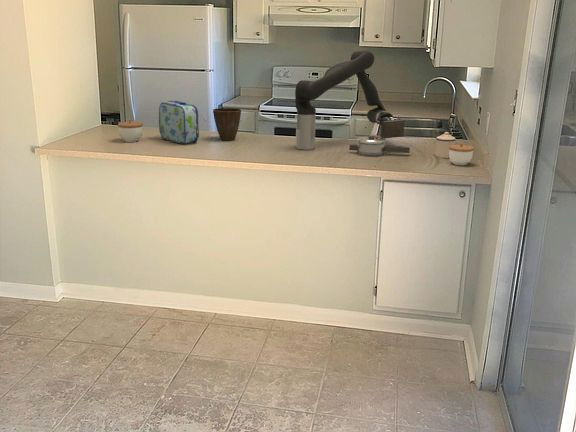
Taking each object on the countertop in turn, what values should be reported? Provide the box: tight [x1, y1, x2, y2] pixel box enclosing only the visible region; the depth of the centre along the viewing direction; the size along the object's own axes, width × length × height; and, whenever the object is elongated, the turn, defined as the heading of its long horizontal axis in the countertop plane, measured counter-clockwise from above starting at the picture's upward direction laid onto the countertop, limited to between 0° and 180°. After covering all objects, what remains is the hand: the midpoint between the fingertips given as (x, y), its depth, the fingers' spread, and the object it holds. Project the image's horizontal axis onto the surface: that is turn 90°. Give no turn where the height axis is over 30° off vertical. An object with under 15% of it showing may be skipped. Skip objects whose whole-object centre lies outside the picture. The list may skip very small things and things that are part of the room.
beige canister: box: [434, 131, 457, 159], centre depth 283 cm, size 12×9×12 cm
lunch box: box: [158, 100, 200, 145], centre depth 307 cm, size 26×11×21 cm, turn 42°
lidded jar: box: [448, 142, 474, 166], centre depth 267 cm, size 11×11×9 cm
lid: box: [356, 119, 405, 144], centre depth 287 cm, size 26×14×9 cm, turn 121°
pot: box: [348, 141, 411, 157], centre depth 286 cm, size 28×13×6 cm, turn 96°
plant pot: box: [212, 107, 242, 142], centre depth 314 cm, size 15×15×16 cm
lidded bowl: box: [117, 119, 144, 143], centre depth 307 cm, size 13×13×11 cm
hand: (393, 124), depth 293 cm, fingers closed
